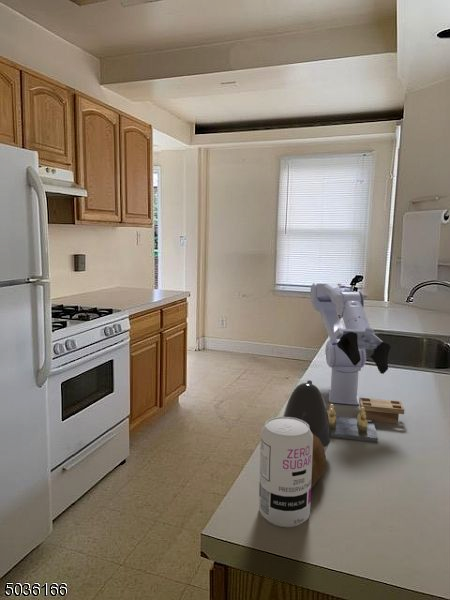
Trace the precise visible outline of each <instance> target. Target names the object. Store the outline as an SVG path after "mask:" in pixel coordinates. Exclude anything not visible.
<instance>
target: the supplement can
mask: <svg viewBox="0 0 450 600" xmlns="http://www.w3.org/2000/svg"><path fill="white" fill-rule="evenodd" d="M264 423H265V424H264V425H263V427H262V430H261V432H260V448H259V450H260V453H259V458H260V459H259V492H258V493H259V495H258V496H259V498H258V509H259V512H260V515H261V516H263V518H264V519H265V520H267V521H268V522H269V523H270V524H272V525H274V526H277V527H281V528H282V527H283V528H294V527H298V526H299V525H301V524H303V523H304V522H306V521H307V520H308V519H309V517H310V516H311V498H312V497H311V496H312V495H311V494H312V488H311V478H312V454H313V434H312V432H311V430H310V428H309V425H308V424H307V423H306V422H304V421H302V420H300V419H297V418H292V417H283V416H276V417H273V418H269V419H268V420H267V421H265V422H264Z"/></svg>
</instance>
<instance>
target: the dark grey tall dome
mask: <svg viewBox="0 0 450 600" xmlns="http://www.w3.org/2000/svg"><path fill="white" fill-rule="evenodd" d="M327 411H328V408H327V405H326V402H325V399H324V396H323V395H322V393H321V390H320V389H319V388H318V387H317V386H316V385H315V384H313V382H312V380H310V379H309V380H308V379H307V381H306V382H302V383H300V384H298V385H297V386H296V387H295V388H294V389H293V390H292V392H291V394H290V397H289V398H288V401H287V404H286V406H285V409H284V413H283V416H282V417H292V418H297V419H300V420H302V421H304V422H306V423H307V424H308V425H309V428H310V430H311V432H312V433H313V434H315V435H316V436H317V437H318V438H319V439H320V441H321V443H322V445H323V446H324V451H325V452H326V451H327V449H328V447H329V445H330V443H331V438H332V437H331V432H330V423H329V418H328V413H327Z"/></svg>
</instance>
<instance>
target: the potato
mask: <svg viewBox="0 0 450 600" xmlns="http://www.w3.org/2000/svg"><path fill="white" fill-rule="evenodd" d="M312 434H313V433H312ZM326 461H327V458H326V451H324V446H323V445H322V443H321V441H320V439H319V438H318V437H317V436H316V435H315V434H313V454H312V478H311V489H312V488H313V487H314V486H315V485H316V483H317V482H318V480H320V478H321V477H322V476H323V474H324V472H325V468H326Z"/></svg>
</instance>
